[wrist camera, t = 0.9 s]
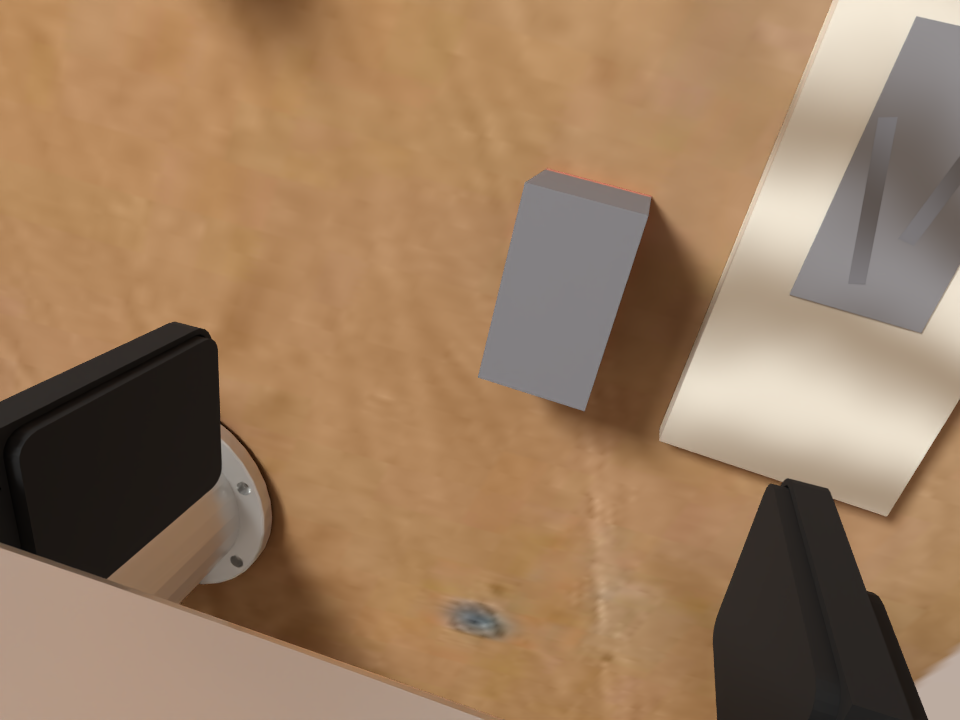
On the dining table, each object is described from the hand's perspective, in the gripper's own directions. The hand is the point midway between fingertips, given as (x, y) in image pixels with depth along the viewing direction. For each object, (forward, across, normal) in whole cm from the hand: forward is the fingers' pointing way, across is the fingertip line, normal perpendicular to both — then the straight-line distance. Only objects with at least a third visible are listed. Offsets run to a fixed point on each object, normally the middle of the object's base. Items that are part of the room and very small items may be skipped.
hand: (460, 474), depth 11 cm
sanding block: (+20, +1, +2) cm, 20 cm away
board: (+20, -11, -4) cm, 23 cm away
